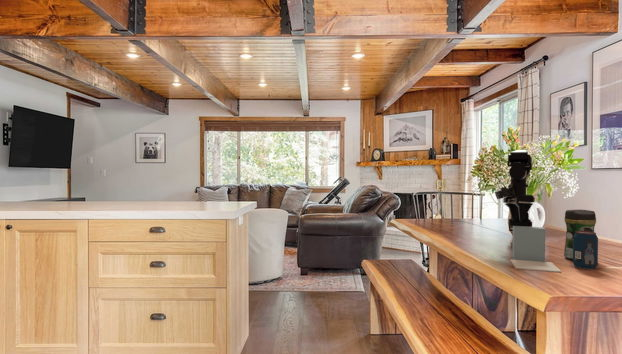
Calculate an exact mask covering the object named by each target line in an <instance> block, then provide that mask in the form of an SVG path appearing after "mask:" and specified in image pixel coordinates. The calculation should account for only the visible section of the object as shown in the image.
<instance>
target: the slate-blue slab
mask: <svg viewBox="0 0 622 354" xmlns="http://www.w3.org/2000/svg"><path fill="white" fill-rule="evenodd" d="M512 229H513V231H512V235H513V246H512V245H511V247H512V257H511V259H513V260H526V261H539V262H546V228H545V227H543V226H541V227H540V226H532V227H526V226H513V228H512Z"/></svg>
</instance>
